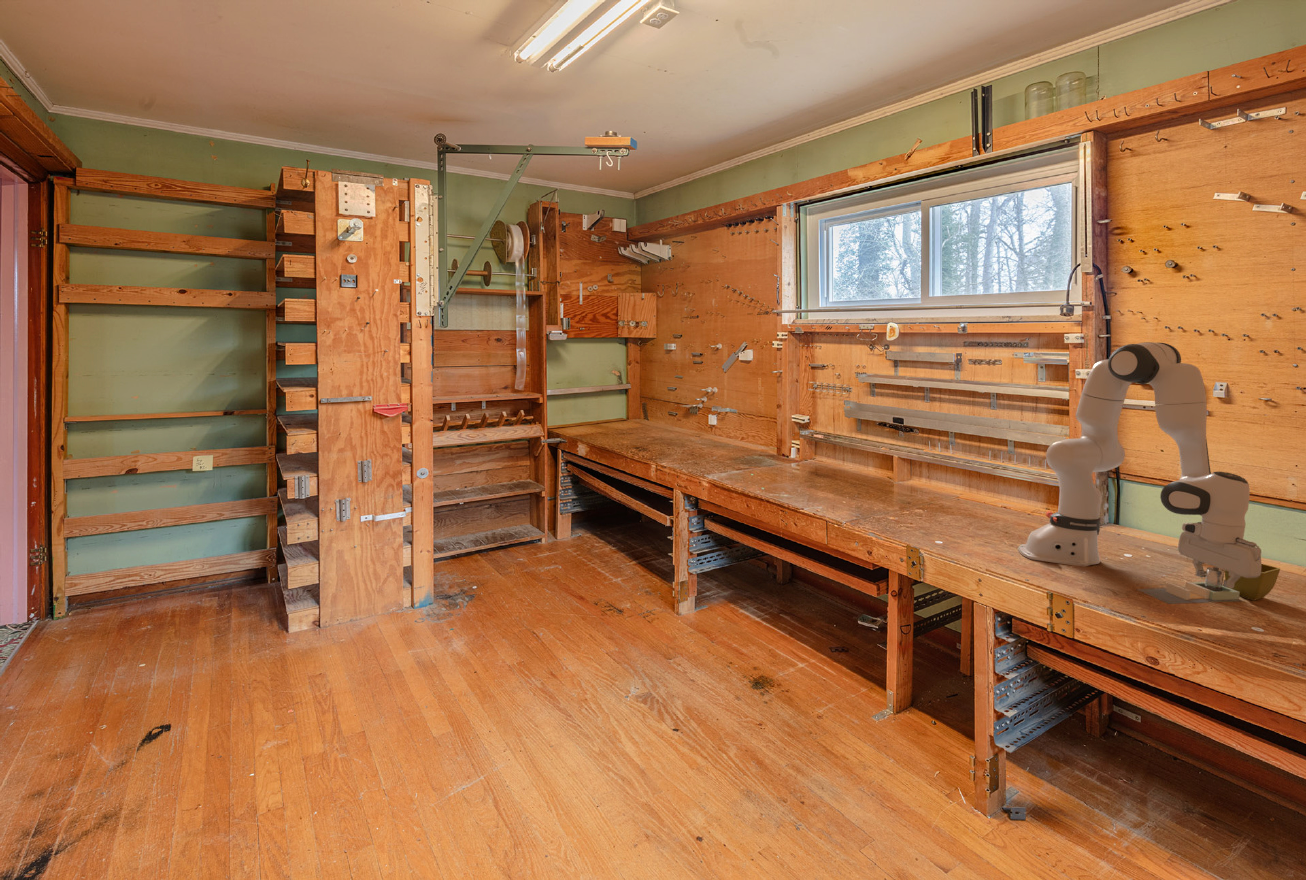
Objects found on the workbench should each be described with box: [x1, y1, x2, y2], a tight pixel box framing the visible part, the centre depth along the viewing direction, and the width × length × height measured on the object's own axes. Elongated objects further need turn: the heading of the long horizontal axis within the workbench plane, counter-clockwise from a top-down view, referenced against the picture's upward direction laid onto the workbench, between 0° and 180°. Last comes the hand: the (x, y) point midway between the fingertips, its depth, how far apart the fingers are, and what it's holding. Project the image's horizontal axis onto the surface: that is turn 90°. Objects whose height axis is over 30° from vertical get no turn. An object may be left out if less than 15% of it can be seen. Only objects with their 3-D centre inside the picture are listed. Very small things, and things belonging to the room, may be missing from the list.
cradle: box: [1165, 581, 1210, 600], centre depth 175 cm, size 7×6×2 cm
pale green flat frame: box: [1190, 581, 1240, 600], centre depth 176 cm, size 8×8×2 cm
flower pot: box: [1224, 563, 1281, 601], centre depth 177 cm, size 9×9×9 cm
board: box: [1136, 587, 1243, 605], centre depth 175 cm, size 22×10×1 cm, turn 97°
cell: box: [1204, 566, 1225, 591], centre depth 175 cm, size 4×4×8 cm
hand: (1214, 581), depth 175 cm, fingers open, 6 cm apart
